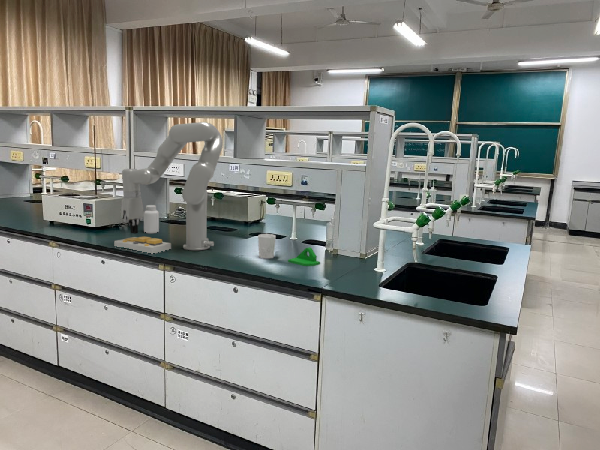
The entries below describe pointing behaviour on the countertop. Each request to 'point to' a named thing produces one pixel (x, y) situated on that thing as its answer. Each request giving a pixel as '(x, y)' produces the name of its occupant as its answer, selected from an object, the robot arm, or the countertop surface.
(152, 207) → the pill bottle
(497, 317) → the countertop surface
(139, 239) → the key
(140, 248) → the white flat piece
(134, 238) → the key
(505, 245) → the countertop surface
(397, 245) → the countertop surface
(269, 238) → the white cup
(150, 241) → the key
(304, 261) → the bracket
